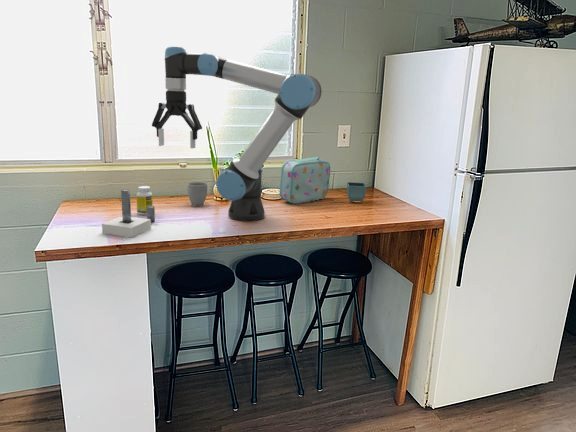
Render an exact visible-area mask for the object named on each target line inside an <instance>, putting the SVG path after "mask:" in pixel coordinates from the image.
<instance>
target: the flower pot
mask: <svg viewBox="0 0 576 432" xmlns="http://www.w3.org/2000/svg"><path fill="white" fill-rule="evenodd" d="M367 188H368V186H367V185H366V184H365V182H353V181H351V182H350V181H347V182H346V193H347V198H348V200H349V202H350V201H362V202H363V201H364V200H365V197H366V193H367Z"/></svg>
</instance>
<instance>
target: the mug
mask: <svg viewBox="0 0 576 432" xmlns="http://www.w3.org/2000/svg"><path fill="white" fill-rule="evenodd" d="M186 185H187V195H188V199H189V201H190V204H191V205H192V207H193V206H194V207H200V206H201V207H202V206H204V205H205V201H206V198H207V195H208V183H207V182H204V181H192V182H187V184H186Z"/></svg>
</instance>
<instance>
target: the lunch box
mask: <svg viewBox="0 0 576 432" xmlns="http://www.w3.org/2000/svg"><path fill="white" fill-rule="evenodd" d="M330 177H331V164H330V163H329V162H328V161H326V160H323V159H321V158H320V157H318V156H313V157H307V158H298V159H287V160H286V161H284V162H283V164H282V166H281V171H280V183H279V196H280V199H281V200H282V201H287V202H288V203H291V204H294V205H297V204H304V203H312V202H311V201H313V202H315V200H317V201H320V200H319V199H322V198H324V199H325V198H326V196H327V195H328V191H329V187H330V186H329V185H330ZM322 200H323V199H322ZM303 202H304V203H303Z"/></svg>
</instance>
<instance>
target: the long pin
mask: <svg viewBox="0 0 576 432" xmlns="http://www.w3.org/2000/svg"><path fill="white" fill-rule="evenodd" d="M120 197H121V198H120V199H121V200H120V201H121V216H122V220H123V223H127V224H129V223H131V217H132V208H131V190H130V189H121V190H120Z"/></svg>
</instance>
